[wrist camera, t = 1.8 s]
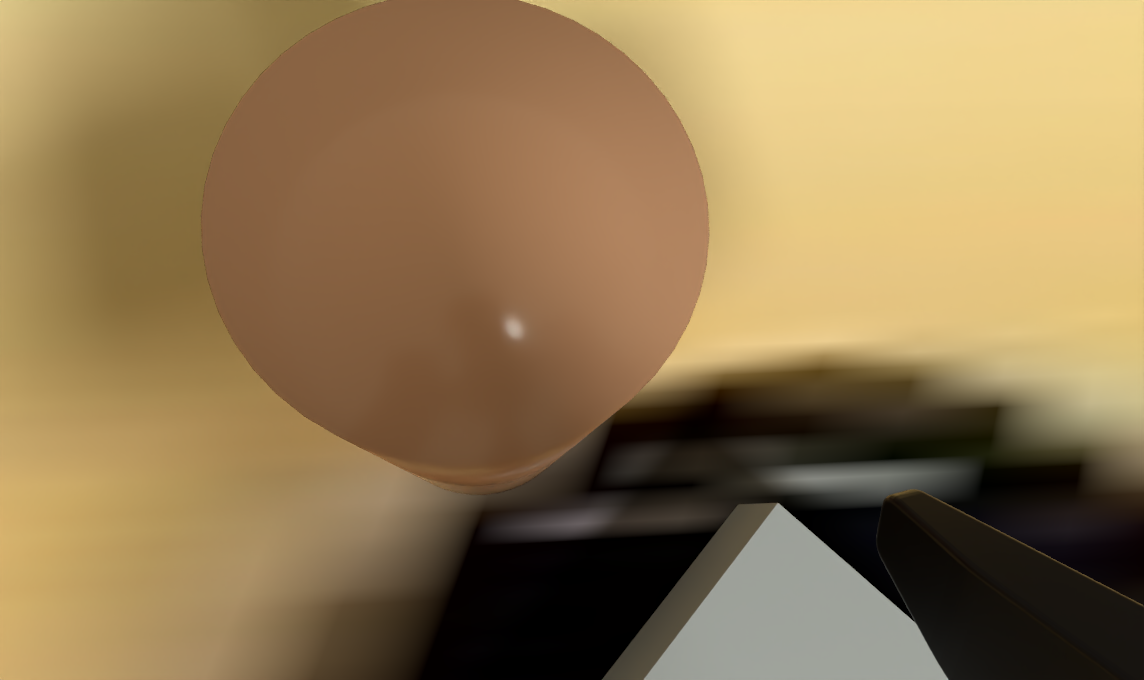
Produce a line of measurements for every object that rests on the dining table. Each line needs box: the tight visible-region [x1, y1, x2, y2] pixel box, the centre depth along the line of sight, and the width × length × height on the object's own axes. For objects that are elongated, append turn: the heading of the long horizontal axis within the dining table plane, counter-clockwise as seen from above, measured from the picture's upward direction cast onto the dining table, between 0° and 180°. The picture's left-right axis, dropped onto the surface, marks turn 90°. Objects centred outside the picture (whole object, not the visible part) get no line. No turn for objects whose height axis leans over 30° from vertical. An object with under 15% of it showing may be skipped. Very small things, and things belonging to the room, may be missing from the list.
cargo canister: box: [201, 0, 709, 495], centre depth 15 cm, size 6×6×13 cm
